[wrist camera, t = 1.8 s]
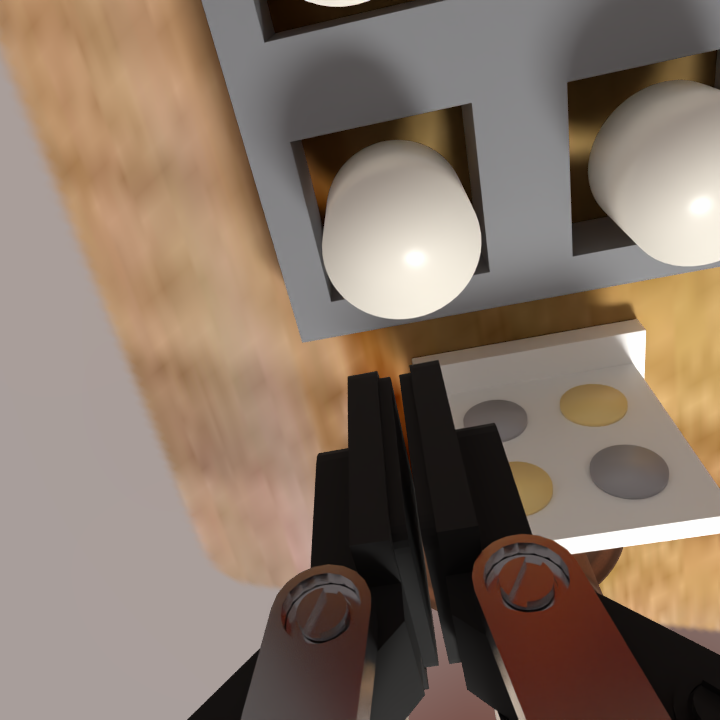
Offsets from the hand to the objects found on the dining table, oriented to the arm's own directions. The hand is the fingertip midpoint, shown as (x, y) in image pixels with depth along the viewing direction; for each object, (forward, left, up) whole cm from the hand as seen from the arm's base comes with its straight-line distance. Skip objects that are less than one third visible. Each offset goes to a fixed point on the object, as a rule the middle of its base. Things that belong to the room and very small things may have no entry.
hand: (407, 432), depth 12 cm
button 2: (-9, 0, -12) cm, 15 cm away
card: (-5, +10, -15) cm, 19 cm away
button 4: (0, 0, -12) cm, 12 cm away
